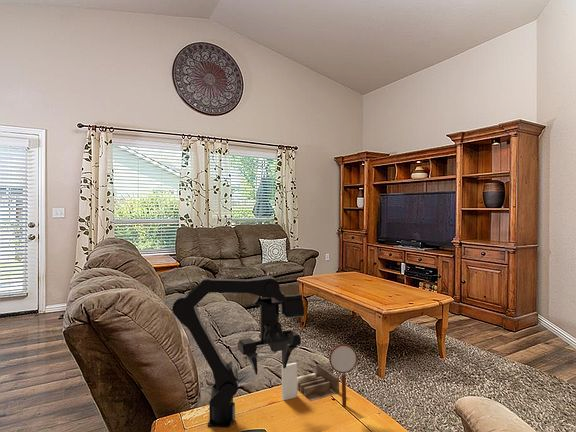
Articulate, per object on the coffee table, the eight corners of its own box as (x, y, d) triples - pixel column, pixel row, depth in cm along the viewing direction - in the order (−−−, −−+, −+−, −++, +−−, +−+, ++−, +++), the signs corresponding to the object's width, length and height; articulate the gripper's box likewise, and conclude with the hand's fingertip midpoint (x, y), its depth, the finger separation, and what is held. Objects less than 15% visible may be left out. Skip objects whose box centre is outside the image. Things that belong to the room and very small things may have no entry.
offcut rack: (310, 405, 107) (309, 384, 107) (291, 388, 118) (291, 369, 119) (339, 397, 112) (338, 377, 112) (319, 382, 123) (318, 363, 123)
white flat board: (283, 405, 108) (282, 366, 108) (281, 403, 109) (281, 365, 109) (297, 401, 110) (296, 363, 110) (295, 399, 111) (295, 362, 111)
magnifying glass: (357, 408, 105) (356, 342, 106) (359, 411, 103) (357, 344, 104) (329, 410, 104) (328, 343, 105) (330, 413, 103) (329, 345, 103)
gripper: (249, 330, 92) (250, 389, 91) (309, 320, 100) (310, 374, 99) (236, 320, 102) (237, 373, 101) (292, 312, 110) (293, 361, 109)
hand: (270, 371), depth 103 cm, fingers open, 9 cm apart
